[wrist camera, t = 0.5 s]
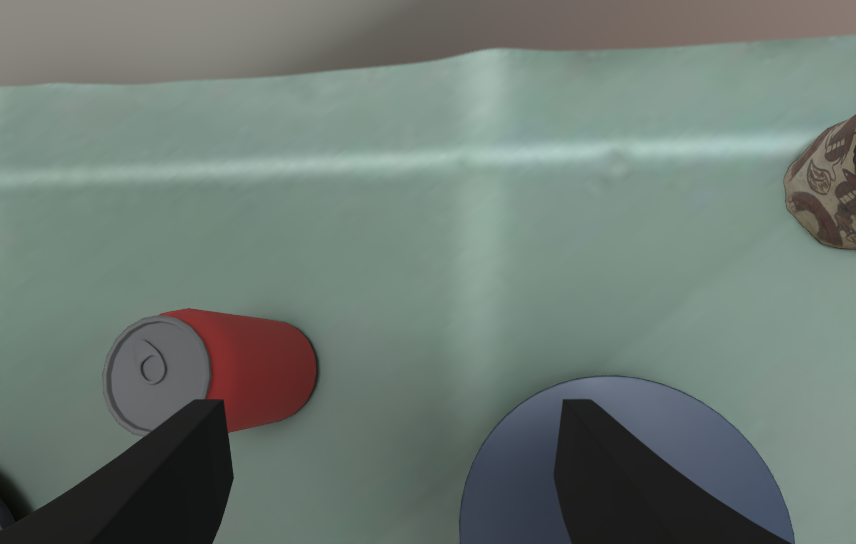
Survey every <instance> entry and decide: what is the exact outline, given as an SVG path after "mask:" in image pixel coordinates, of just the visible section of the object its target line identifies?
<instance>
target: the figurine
mask: <svg viewBox="0 0 856 544" xmlns="http://www.w3.org/2000/svg"><path fill="white" fill-rule="evenodd" d="M784 185H785V188H786V204H787V209H788V210H789V211H790V212H791V213H792V214H793V215H794V216H795V217H796V218H797V220H798V221H799V222H800V223H801V225H802V226H803V227H804V228H806V229H807V230H808V231H809V232H810V233H811V234H812V236H813V237H815V238H816V239H818V240H819V241H820V242H821V243H823V244H826V245H829V246H833V247H837V248H848V249H856V115H854V116H853V117H851V118H849V119H848V120H846V121H843V122H840V123H838V124H836V125H834V126H831V127H829V128H827V129H826V130H825V131H824V132H823V133H822V134H821V135H819V136H818V138H817V139H816V140H815V141H814V142H813V143H812V144H811V145H810V146H809V147H808V148H807V150H806V151H805V152H804V153H803V154H802V155H801V157H800V158H799V159H798V160H797V161H796V162H794V163H793V164H792V165H791V166H790V168H789V170H788V171H787V173H786V175H785V177H784Z"/></svg>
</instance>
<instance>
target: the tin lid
mask: <svg viewBox="0 0 856 544" xmlns="http://www.w3.org/2000/svg"><path fill="white" fill-rule="evenodd" d="M563 399H592V400H593V401H594V402H595V403H597V404H598V405H599V406H600V407H601V408H603V409H604V410H605V411H606V412H607V413H608V414H610V415H611V416H612V417H613V418H614V419H615V420H617V421H618V422H619V423H620V424H621V425H622V426H624V427H625V428H626V429H627V430H628V431H629V432H631V433H632V434H633V435H634V436H635V437H636V438H638V439H639V440H640V441H641V442H642V443H644V444H645V445H646V446H647V447H648V448H650V449H651V450H652V451H653V452H655V453H656V454H657V455H658V456H660V457H661V458H662V459H663V460H665V461H666V462H667V463H668V464H670V465H671V466H672V467H674V468H675V469H676V470H677V471H679V472H680V473H682V474H683V475H684V476H686V477H687V478H688V479H690V480H691V481H692V482H694V483H695V484H696V485H698V486H699V487H701V488H702V489H703V490H705V491H706V492H708V493H709V494H711V495H712V496H714V497H715V498H717V499H718V500H719V501H721V502H723V503H724V504H726V505H727V506H729V507H731V508H732V509H734V510H735V511H737V512H738V513H740V514H742V515H743V516H745V517H746V518H748V519H749V520H751V521H753V522H754V523H756V524H758V525H760V526H761V527H763V528H765V529H766V530H768V531H770V532H772V533H773V534H775V535H777V536H779V537H781V538H783V539H784V540H786V541H788V542H790V543H792V544H795V540H794V533H793V529H792V524H791V520H790V516H789V512H788V509H787V507H786V504H785V501H784V499H783V496H782V494H781V491H780V489H779V487H778V485H777V483H776V481H775V479H774V477H773V476H772V474H771V472H770V470H769V468H768V466H767V465H766V464H765V462H764V461H763V459H762V458H761V457H760V455H759V454H758V452H757V451H756V450H755V448H754V447H753V446H752V445H751V444H750V442H749V441H748V440H747V439H746V438H745V437H744V436H743V435H742V434H741V433H740V431H739V430H738V429H736V428H735V427H734V426H733V425H732V424H731V423H730V422H728V421H727V420H726V419H725V418H724V417H723V416H722V415H720V414H719V413H717V412H716V411H714V410H713V409H712V408H710V407H709V406H707V405H706V404H704V403H703V402H701V401H699V400H697V399H695V398H694V397H692V396H690V395H688V394H686V393H684V392H682V391H680V390H677V389H674V388H672V387H669V386H666V385H664V384H661V383H657V382H653V381H649V380H645V379H641V378H635V377H626V376H617V375H615V376H591V377H584V378H577V379H573V380H570V381H566V382H562V383H559V384H556V385H554V386H551V387H549V388H547V389H544V390H542V391H540V392H538V393H536V394H535V395H533V396H531V397H530V398H528V399H526V400H525V401H523V402H522V403H520V404H519V405H518V406H517V407H515V408H514V409H513V410H512V411H510V412H509V413H508V414H507V415H506V416H505V417H504V418H503V419H502V420H501V421H500V422H499V423H498V424H497V425H496V427H495V428H494V429H493V430H492V432H491V433H490V434H489V436H488V437H487V439H486V440H485V441H484V443H483V444H482V446H481V448H480V450H479V452H478V454H477V455H476V457H475V459H474V461H473V463H472V466H471V469H470V471H469V474H468V477H467V480H466V483H465V487H464V492H463V496H462V500H461V510H460V520H459V529H460V544H572V543H571V540H570V537H569V534H568V532H567V529H566V526H565V523H564V520H563V516H562V512H561V508H560V504H559V500H558V495H557V490H556V486H555V481H554V477H553V475H554V467H555V459H556V451H557V443H558V435H559V427H560V418H561V410H562V402H563Z"/></svg>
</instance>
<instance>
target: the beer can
mask: <svg viewBox="0 0 856 544" xmlns="http://www.w3.org/2000/svg"><path fill="white" fill-rule="evenodd" d="M316 372H317V370H316V361H315V354H314V352H313V350H312V347H311V345H310V343H309V341H308V340H307V339H306V337H305V336H304V335H303V334H302V333H301V332H300V331H299V330H298V329H297V328H295V327H293V326H291V325H290V324H288V323H286V322H280V321H274V320H268V319H261V318H254V317H247V316H240V315H232V314H225V313H218V312H211V311H204V310H197V309H190V308H188V309H182V310H176V311H171V312H166V313H162V314H160V315H158V316H152V317H147V318H143V319H141V320H139V321H137V322H135V323H134V324H132V325H130V326H128V327H127V328H126V329H125V330H124V331H123V332H122V333H121V334H120V335H119V336H118V337H117V339H116V340H115V341H114V343H113V345H112V347H111V349H110V351H109V353H108V354H107V357H106V361H105V365H104V370H103V374H102V377H103V394H104V397H105V400H106V403H107V406H108V409H109V411H110V413H111V414H112V415H113V417H114V418H115V420H116V421H117V422H118V424H119V425H121V426H122V427H123V428H125V429H126V430H128V431H129V432H131V433H132V434H135V435H139V436H143V437H145V436H146V435H147V434H149V433H150V432H151V431H153V430H154V429H155V428H156V427H158V426H159V425H160V424H162V423H163V422H164V421H166V420H167V419H168V418H169V417H171V416H172V415H173V414H175V413H176V412H177V411H179V410H180V409H181V408H183V407H184V406H185V405H187V404H188V403H190V402H191V401H193V400H194V399H224V405H225V413H226V421H227V429H228V433H230V432H234V431H239V430H243V429H247V428H251V427H256V426H260V425H264V424H268V423H273V422H277V421H281V420H283V419H285V418H287V417H289V416H291V415H293V414H295V413H296V412H297V411H298V410H299V409H300V408H301V407H302V406H303V405H304V404H305V403H306V401H307V399H308V397H309V396H310V394H311V392H312V390H313V388H314V383H315V378H316Z"/></svg>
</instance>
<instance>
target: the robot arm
mask: <svg viewBox="0 0 856 544" xmlns="http://www.w3.org/2000/svg"><path fill="white" fill-rule="evenodd" d="M553 477H554V481H555V486H556V490H557V495H558V500H559V504H560V508H561V512H562V516H563V520H564V523H565V526H566V529H567V532H568V534H569V537H570V540H571V543H572V544H792V543H790V542H788V541H786V540H784V539H783V538H781V537H779V536H777V535H775V534H773V533H772V532H770V531H768V530H766V529H765V528H763V527H761V526H760V525H758V524H756V523H754V522H753V521H751V520H749V519H748V518H746V517H745V516H743V515H742V514H740V513H738V512H737V511H735V510H734V509H732V508H731V507H729V506H727V505H726V504H724V503H723V502H721V501H719V500H718V499H717V498H715V497H714V496H712V495H711V494H709V493H708V492H706V491H705V490H703V489H702V488H701V487H699V486H698V485H696V484H695V483H694V482H692V481H691V480H690V479H688V478H687V477H686V476H684V475H683V474H682V473H680V472H679V471H677V470H676V469H675V468H674V467H672V466H671V465H670V464H668V463H667V462H666V461H665V460H663V459H662V458H661V457H660V456H658V455H657V454H656V453H655V452H653V451H652V450H651V449H650V448H648V447H647V446H646V445H645V444H644V443H642V442H641V441H640V440H639V439H638V438H636V437H635V436H634V435H633V434H632V433H631V432H629V431H628V430H627V429H626V428H625V427H624V426H622V425H621V424H620V423H619V422H618V421H617V420H615V419H614V418H613V417H612V416H611V415H610V414H608V413H607V412H606V411H605V410H604V409H603V408H601V407H600V406H599V405H598V404H597V403H595V402H594V401H593V400H592V399H563V402H562V410H561V418H560V427H559V435H558V443H557V451H556V459H555V467H554V475H553ZM233 479H234V476H233V468H232V460H231V452H230V444H229V437H228V429H227V421H226V413H225V405H224V399H194V400H193V401H191V402H190V403H188V404H187V405H185V406H184V407H183V408H181V409H180V410H179V411H177V412H176V413H175V414H173V415H172V416H171V417H169V418H168V419H167V420H166V421H164V422H163V423H162V424H160V425H159V426H158V427H156V428H155V429H154V430H153V431H151V432H150V433H149V434H147V435H146V436H145V437H143V438H142V439H141V440H139V441H138V442H137V443H135V444H134V445H133V446H131V447H130V448H129V449H127V450H126V451H125V452H123V453H122V454H121V455H119V456H118V457H117V458H115V459H114V460H112V461H111V462H109V463H108V464H106V465H105V466H104V467H102V468H101V469H99V470H98V471H96V472H95V473H93V474H92V475H90V476H89V477H88V478H86V479H85V480H83V481H82V482H80V483H79V484H77V485H76V486H75V487H73V488H72V489H70V490H68V491H67V492H65V493H64V494H62V495H61V496H59V497H57V498H56V499H54V500H53V501H51V502H49V503H48V504H46V505H45V506H43V507H41V508H39V509H38V510H36V511H34V512H33V513H31V514H29V515H27V516H26V517H24V518H22V519H21V520H19V521H17V522H15V523H14V524H12V525H10V526H8V527H6V528H5V529H3V530H1V531H0V544H212V543H213V541H214V538H215V536H216V534H217V531H218V529H219V526H220V524H221V521H222V518H223V514H224V511H225V508H226V504H227V501H228V497H229V493H230V490H231V486H232V482H233Z"/></svg>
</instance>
